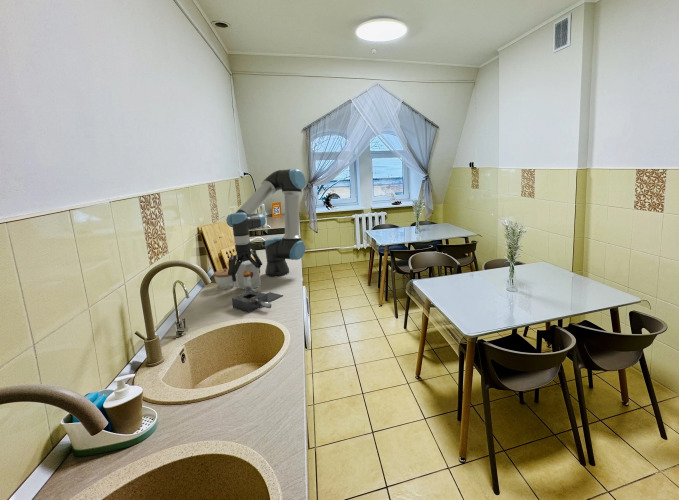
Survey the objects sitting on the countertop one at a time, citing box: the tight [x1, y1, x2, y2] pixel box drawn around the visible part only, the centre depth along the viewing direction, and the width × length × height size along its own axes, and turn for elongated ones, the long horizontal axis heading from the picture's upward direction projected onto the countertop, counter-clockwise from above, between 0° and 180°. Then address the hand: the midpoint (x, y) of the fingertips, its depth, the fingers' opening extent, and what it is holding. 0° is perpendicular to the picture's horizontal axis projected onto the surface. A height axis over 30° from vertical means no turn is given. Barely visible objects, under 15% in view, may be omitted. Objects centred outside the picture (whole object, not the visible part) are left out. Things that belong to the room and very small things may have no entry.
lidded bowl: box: [213, 267, 238, 290], centre depth 187 cm, size 13×13×11 cm
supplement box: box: [237, 260, 262, 290], centre depth 184 cm, size 9×9×15 cm
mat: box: [266, 291, 284, 303], centre depth 168 cm, size 10×10×1 cm
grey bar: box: [242, 270, 253, 293], centre depth 169 cm, size 4×4×14 cm
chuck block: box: [231, 289, 272, 313], centre depth 155 cm, size 12×20×5 cm, turn 53°
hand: (247, 283), depth 169 cm, fingers open, 13 cm apart
